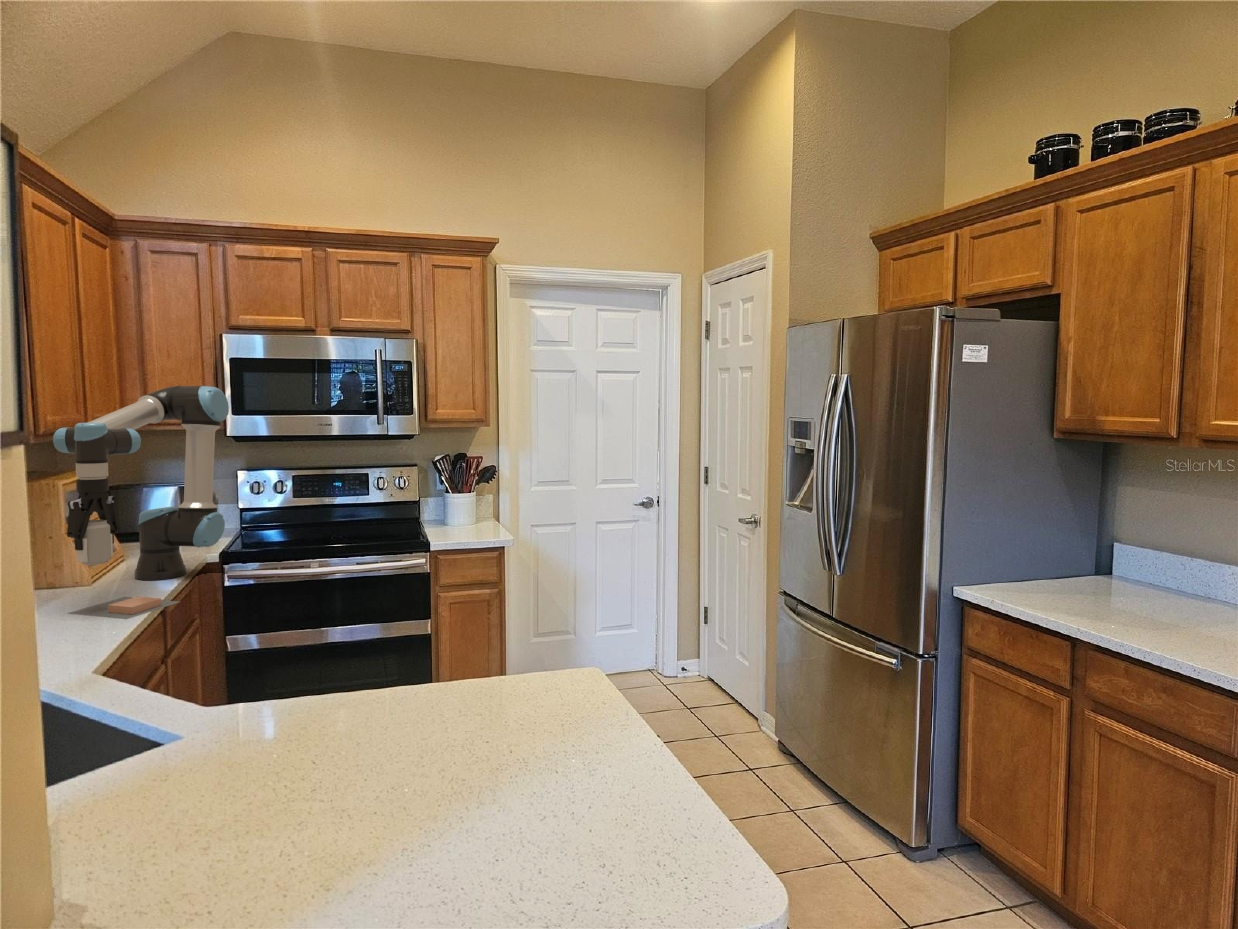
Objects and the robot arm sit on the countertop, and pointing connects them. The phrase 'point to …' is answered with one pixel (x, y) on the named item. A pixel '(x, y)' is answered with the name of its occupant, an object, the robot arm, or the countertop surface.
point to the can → (98, 542)
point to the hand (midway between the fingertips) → (95, 558)
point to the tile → (134, 605)
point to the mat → (102, 611)
